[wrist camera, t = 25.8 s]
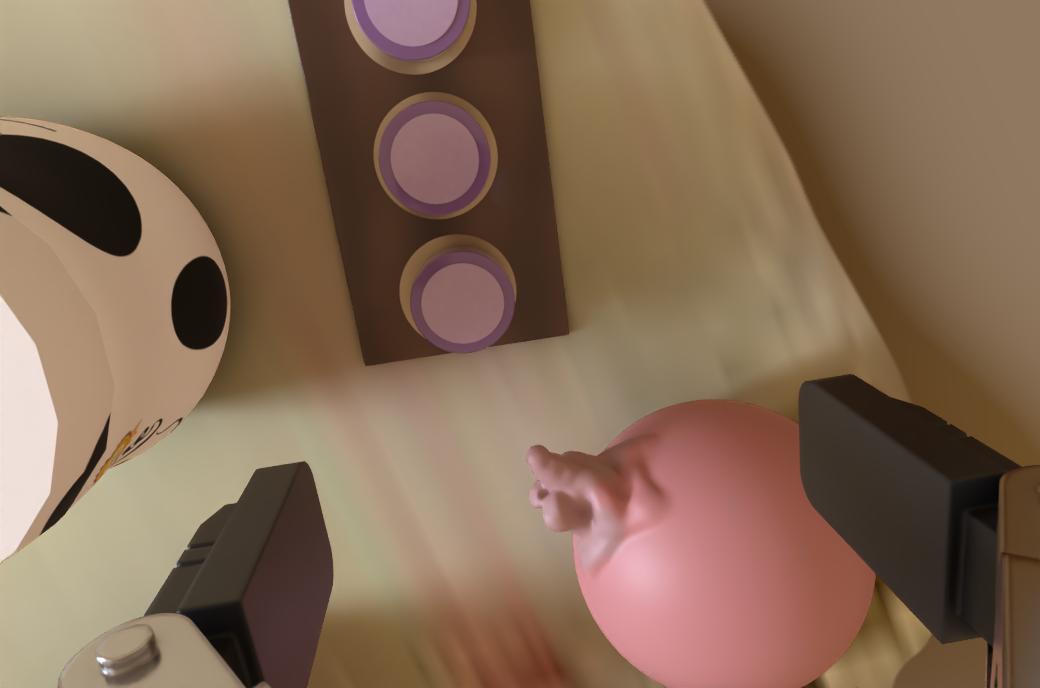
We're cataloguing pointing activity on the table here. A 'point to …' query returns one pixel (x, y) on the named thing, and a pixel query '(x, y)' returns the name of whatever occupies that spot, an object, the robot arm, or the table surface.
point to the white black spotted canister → (94, 316)
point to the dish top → (462, 299)
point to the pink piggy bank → (707, 548)
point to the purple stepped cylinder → (413, 26)
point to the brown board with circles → (415, 236)
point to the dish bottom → (434, 158)
